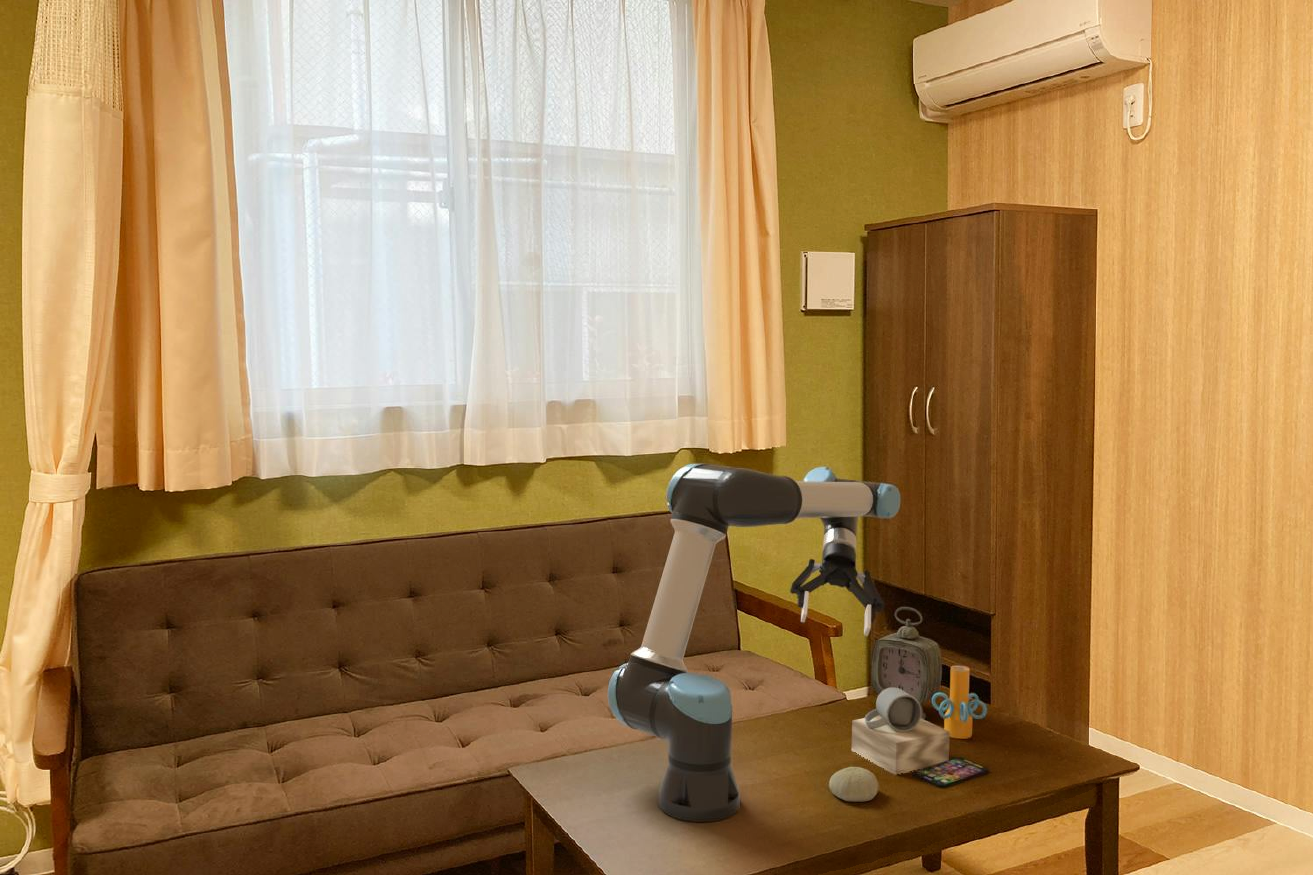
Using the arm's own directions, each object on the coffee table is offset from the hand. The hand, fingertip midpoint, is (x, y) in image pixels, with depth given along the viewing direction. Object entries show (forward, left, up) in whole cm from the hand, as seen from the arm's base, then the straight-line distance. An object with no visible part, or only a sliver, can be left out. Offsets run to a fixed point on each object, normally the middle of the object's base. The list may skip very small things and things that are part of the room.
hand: (835, 625), depth 217 cm
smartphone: (+17, -18, -27) cm, 37 cm away
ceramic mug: (+10, -8, -20) cm, 24 cm away
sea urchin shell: (-6, -22, -27) cm, 36 cm away
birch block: (+11, -8, -27) cm, 30 cm away
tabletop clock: (+26, +16, -27) cm, 41 cm away
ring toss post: (+30, 0, -27) cm, 40 cm away
